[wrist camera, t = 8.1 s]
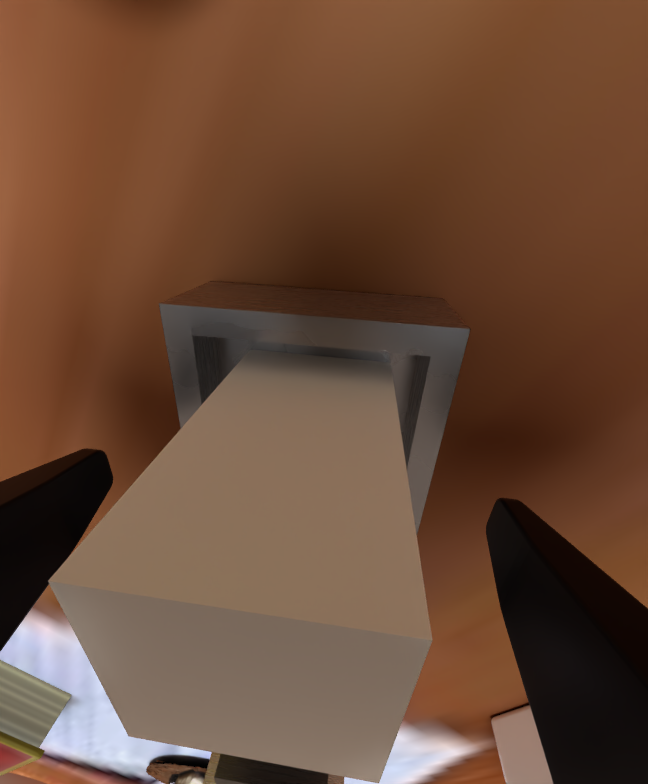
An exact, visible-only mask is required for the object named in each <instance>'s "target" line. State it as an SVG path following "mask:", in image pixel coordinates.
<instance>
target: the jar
mask: <svg viewBox="0 0 648 784" xmlns="http://www.w3.org/2000/svg"><path fill="white" fill-rule="evenodd" d="M491 723H492V728H493V732H494V736H495V740H496V744H497V748H498V753H499V757H500V761H501V765H502V769H503V773H504V777H505V781H506V784H553V781H552V778H551V774H550V771H549V768H548V764H547V761H546V758H545V754H544V751H543V748H542V745H541V741H540V738H539V735H538V731H537V728H536V725H535V721H534V718H533V715H532V711H531V708H530V705H527V706H524V707H521V708H518V709H516V710H513V711H510V712H507V713H504V714H501V715H498V716H495V717H493V718H492V720H491Z"/></svg>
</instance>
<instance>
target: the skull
mask: <svg viewBox="0 0 648 784" xmlns="http://www.w3.org/2000/svg"><path fill="white" fill-rule="evenodd" d="M157 762H163V761H158V760H157ZM206 771H207V770H206V768H201V767H192V766H185V765H184V766H183V765H177V764H174V765H172V764H171V765H170V763H169V764H168V763H164V764H163V763H162V764H156V763H154V764H153V762H152V763H150V766H148V767H147V773H148V774H149V775H151V776H152V777H154V778H155V779H156V780H157V779H158V781H161V782H162V783H165V784H170V783H173V782H174V783H175V784H203V781H204V778H205V774H206Z"/></svg>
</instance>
